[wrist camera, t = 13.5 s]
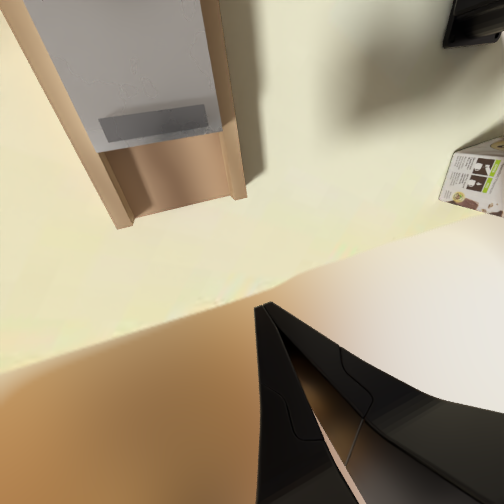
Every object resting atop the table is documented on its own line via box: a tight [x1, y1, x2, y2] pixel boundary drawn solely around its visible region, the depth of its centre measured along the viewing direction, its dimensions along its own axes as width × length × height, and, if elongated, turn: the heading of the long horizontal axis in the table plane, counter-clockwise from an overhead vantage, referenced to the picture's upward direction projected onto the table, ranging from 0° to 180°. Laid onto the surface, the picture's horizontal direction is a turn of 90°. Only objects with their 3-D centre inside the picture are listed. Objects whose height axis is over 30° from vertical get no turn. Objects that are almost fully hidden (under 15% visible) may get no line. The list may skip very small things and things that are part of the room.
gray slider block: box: [23, 0, 223, 153], centre depth 11 cm, size 7×6×4 cm
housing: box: [0, 0, 247, 230], centre depth 11 cm, size 10×20×2 cm, turn 6°
